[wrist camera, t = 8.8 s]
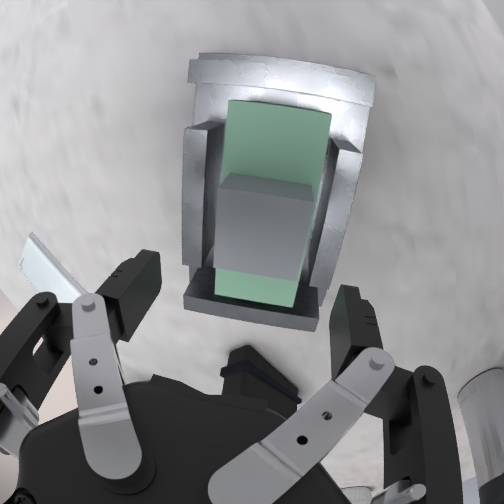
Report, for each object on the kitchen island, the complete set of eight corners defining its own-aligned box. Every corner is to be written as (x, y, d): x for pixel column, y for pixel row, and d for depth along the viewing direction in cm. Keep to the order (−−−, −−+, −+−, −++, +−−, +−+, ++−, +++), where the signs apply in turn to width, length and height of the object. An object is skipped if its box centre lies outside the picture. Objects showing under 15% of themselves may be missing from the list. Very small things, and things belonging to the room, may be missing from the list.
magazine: (230, 335, 31) (249, 476, 21) (294, 358, 40) (315, 461, 30) (205, 346, 32) (219, 478, 23) (272, 366, 41) (289, 466, 32)
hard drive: (15, 267, 33) (71, 328, 37) (27, 235, 30) (91, 306, 33) (22, 261, 35) (77, 320, 38) (35, 229, 31) (98, 298, 35)
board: (235, 99, 18) (214, 101, 13) (328, 112, 17) (339, 118, 13) (220, 279, 25) (204, 320, 20) (293, 291, 24) (290, 335, 20)
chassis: (202, 54, 19) (175, 45, 15) (372, 76, 18) (393, 72, 14) (192, 279, 30) (173, 315, 25) (321, 301, 29) (323, 341, 24)
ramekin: (362, 494, 66) (362, 512, 60) (323, 495, 67) (322, 514, 61) (380, 483, 59) (381, 504, 53) (337, 485, 60) (337, 507, 54)
